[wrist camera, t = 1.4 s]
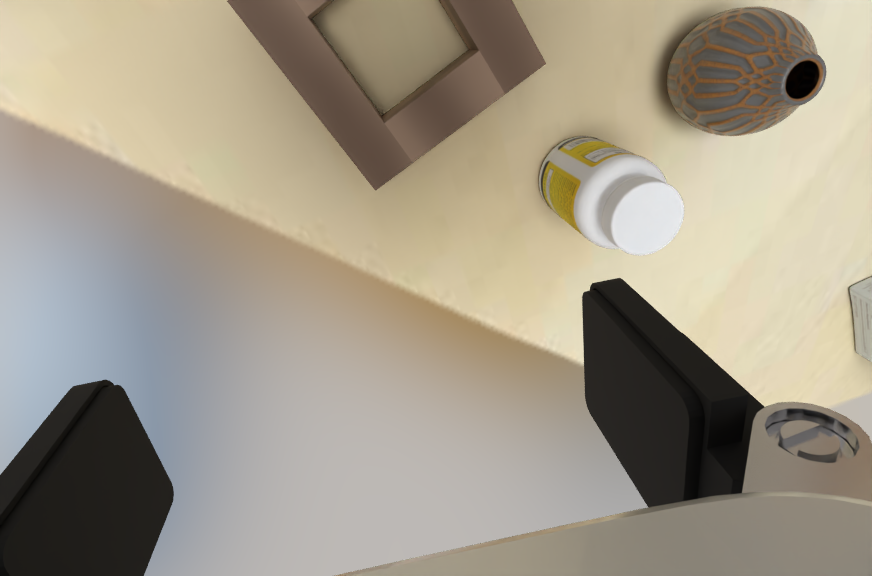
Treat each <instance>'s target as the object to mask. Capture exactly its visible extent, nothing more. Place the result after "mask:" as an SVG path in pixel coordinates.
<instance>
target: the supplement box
mask: <svg viewBox="0 0 872 576" xmlns="http://www.w3.org/2000/svg"><path fill="white" fill-rule="evenodd" d="M850 295H851V301H852V308H853V317H854V329H855V345H856V352H857V353H858V354H860V355H861V356H863V357H864V358H866V359H867V360H869V361H870V362H872V277H870V278H868V279H865V280H863V281H861V282H859V283H857V284H855V285H853V286H851V287H850Z"/></svg>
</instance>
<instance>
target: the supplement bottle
mask: <svg viewBox="0 0 872 576" xmlns="http://www.w3.org/2000/svg"><path fill="white" fill-rule="evenodd" d="M539 188H540V192H541V195H542V197H543V199H544V201H545V202H546V204H547V205H548V206H549V207H550V208H551V209H552V210H553V211H554V212H556V213H557V214H558V215H559V216H560V217H561V218H562V219H564V220H565V221H566V222H567V223H568V224H570V225H571V226H572V227H573V228H574V229H576V230H577V231H578V232H579V233H581V234H582V235H583V236H584V237H585V238H587V239H588V240H590V241H591V242H593V243H594V244H596V245H598V246H600V247H604V248H609V249H621V250H622V251H624V252H626V253H628V254H632V255H647V254H651V253H654V252H656V251H658V250H660V249H662V248H663V247H665V246H666V245H667V244H668V243H669V242H670V241H671V240H672V239H673V238H674V237H675V236H676V234H677V233H678V231H679V229H680V227H681V224H682V221H683V218H684V204H683V200H682V198H681V196H680V194H679V193H678V191H677V190H676V189H675V188H674V187H672V186H671V185H669V184H667V182H666V179H665V177H664V175H663V173H662V172H661V170H660V169H659V168H658V167H657V166H656V165H655V164H653V163H652V162H650V161H649V160H647V159H645V158H643V157H641V156H639V155H636V154H634V153H631V152H628V151H626V150H624V149H621V148H619V147H616V146H614V145H611V144H609V143H606V142H604V141H601V140H599V139H597V138H592V137H587V136H579V137H573V138H570V139H567V140H565V141H563V142H562V143H560V144H558V145H557V146H556V147H555V148H554V149H553V150H552V151H551V152H550V153H549V154H548V156H547V157H546V159H545V160H544V162H543V165H542V167H541V170H540V175H539Z"/></svg>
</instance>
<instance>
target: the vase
mask: <svg viewBox="0 0 872 576" xmlns="http://www.w3.org/2000/svg"><path fill="white" fill-rule="evenodd" d="M825 78H826V66H825V63H824V61H823V59H822V58H821V57H820V56H819V55H818V54H817V49H816V46H815V43H814V40H813V38H812V36H811V34H810V33H809V31H808V30H807V28H806V27H805V26H804V25H803V24H802V23H801V22H799V21H798V20H797V19H795V18H794V17H792V16H790V15H788V14H786V13H784V12H782V11H779V10H775V9H772V8H766V7H743V8H737V9H732V10H728V11H725V12H722V13H719V14H717V15H715V16H713V17H711V18H709V19H707V20H705V21H704V22H702V23H701V24H699V25H698V26H697V27H695V28H694V29H693V30H692V31H691V32H690V33H689V34H688V35H687V36H686V37H685V38H684V39H683V40H682V42H681V43H680V44H679V46H678V47H677V49H676V51H675V53H674V55H673V57H672V59H671V62H670V65H669V69H668V75H667V88H668V94H669V97H670V100H671V102H672V104H673V106H674V108H675V110H676V111H677V112H678V114H679V115H680V116H681V117H682V118H683V119H684V120H685V121H687V122H688V123H689V124H690V125H692V126H694V127H696V128H698V129H700V130H702V131H705V132H708V133H711V134H716V135H722V136H739V135H746V134H752V133H756V132H759V131H762V130H765V129H767V128H770V127H772V126H774V125H776V124H778V123H779V122H781V121H782V120H784V119H785V118H787V117H788V116H789V115H790V114H791V113H793V112H794V111H795V110H796V109H797V108H798V107H799V106H800V105H802V104H805V103H807V102H808V101H810V100H811V99H813V98H814V97H815V96H816V95H817V94H818V92H819V91H820V90H821V88H822V86H823V84H824V81H825Z"/></svg>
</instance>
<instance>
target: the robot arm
mask: <svg viewBox="0 0 872 576" xmlns="http://www.w3.org/2000/svg"><path fill="white" fill-rule="evenodd" d="M582 306H583V340H584V373H585V399H586V404H587V407H588V410H589V412H590V414H591V416H592V417H593V419H594V421H595V422H596V424H597V425H598V427H599V429H600V430H601V432H602V433H603V435H604V436H605V438H606V440H607V441H608V443H609V445H610V446H611V448H612V449H613V451H614V453H615V454H616V456H617V458H618V459H619V461H620V462H621V464H622V466H623V467H624V469H625V470H626V472H627V474H628V475H629V477H630V478H631V480H632V481H633V483H634V485H635V486H636V488H637V490H638V491H639V493H640V494H641V496H642V498H643V499H644V501H645V503H646V504H647V506H648V507H649V508H643V509H638V510H633V511H629V512H624V513H619V514H615V515H610V516H606V517H601V518H596V519H591V520H586V521H582V522H576V523H571V524H567V525H562V526H558V527H553V528H549V529H544V530H540V531H535V532H530V533H526V534H521V535H516V536H512V537H508V538H503V539H498V540H493V541H489V542H485V543H480V544H475V545H470V546H466V547H461V548H457V549H452V550H447V551H443V552H439V553H434V554H429V555H425V556H420V557H416V558H411V559H407V560H402V561H398V562H394V563H389V564H384V565H380V566H375V567H371V568H366V569H362V570H357V571H353V572H348V573H344V574H340V575H335V576H872V443H871V440H870V438H869V436H868V435H867V434H866V433H865V432H864V431H863V430H862V428H861V427H860V426H859V425H857V424H856V423H854V422H853V421H851V420H850V419H848V418H847V417H845V416H843V415H841V414H839V413H837V412H834V411H833V410H830V409H828V408H824V407H820V406H817V405H813V404H808V403H800V402H781V403H776V404H772V405H769V406H766V407H764V406H763V405H762V404H761V403H760V402H758V401H757V400H756V399H755V398H754V397H753V396H752V395H751V394H750V393H749V392H747V391H746V390H745V389H744V388H743V387H742V386H741V385H740V384H739V383H737V382H736V381H735V380H734V379H733V378H732V377H731V376H730V375H729V374H728V373H726V372H725V371H724V370H723V369H722V368H721V367H720V366H719V365H718V364H717V363H715V362H714V361H713V360H712V359H711V358H710V357H709V356H708V355H707V354H705V353H704V352H703V351H702V350H701V349H700V348H699V347H698V346H697V345H696V344H694V343H693V342H692V341H691V340H690V339H689V338H688V337H687V336H686V335H684V334H683V333H681V332H680V331H679V330H677V329H676V328H675V327H674V326H673V325H672V324H671V323H670V322H669V321H668V320H666V319H665V318H664V317H663V316H662V315H661V314H660V313H659V312H658V311H657V310H655V309H654V308H653V307H652V306H651V305H650V304H649V303H648V302H647V301H646V300H644V299H643V298H642V297H641V296H640V295H639V294H638V293H637V292H636V291H635V290H634V289H632V288H631V287H630V286H629V285H628V284H627V283H626V282H625V281H624V280H622V279H621V278H617V279H612V280H607V281H602V282H597V283H592V285H591V287H590V291H587V292H584V293H583V296H582ZM173 496H174V492H173V486H172V483H171V481H170V479H169V477H168V475H167V473H166V471H165V469H164V467H163V465H162V463H161V461H160V459H159V457H158V455H157V454H156V451H155V449H154V447H153V445H152V443H151V441H150V439H149V438H148V435H147V433H146V432H145V430H144V428H143V426H142V424H141V422H140V420H139V418H138V416H137V414H136V412H135V410H134V408H133V406H132V404H131V402H130V400H129V398H128V396H127V394H126V392H125V391H124V389H123V388H122V387H121V386H119V385H114V384H113V383H112V382H110V381H108V380H102V381H97V382H92V383H87V384H82V385H77V386H73V387H72V388H71V389H70V390H69V391H68V393H67V394H66V395H65V396H64V397H63V399H62V400H61V401H60V402H59V404H58V405H57V406H56V407H55V408H54V410H53V411H52V412H51V413H50V415H49V416H48V417H47V418H46V420H45V421H44V422H43V423H42V424H41V426H40V427H39V428H38V429H37V431H36V432H35V433H34V434H33V435H32V437H31V438H30V439H29V441H28V442H27V443H26V444H25V445H24V447H23V448H22V449H21V450H20V451H19V453H18V454H17V455H16V456H15V458H14V459H13V460H12V461H11V463H10V464H9V465H8V466H7V468H6V469H5V470H4V471H3V472H2V474H1V475H0V576H144V573H145V571H146V568H147V566H148V563H149V561H150V558H151V555H152V553H153V551H154V548H155V546H156V543H157V541H158V538H159V535H160V533H161V530H162V528H163V525H164V523H165V520H166V518H167V515H168V513H169V510H170V507H171V505H172V502H173Z"/></svg>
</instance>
